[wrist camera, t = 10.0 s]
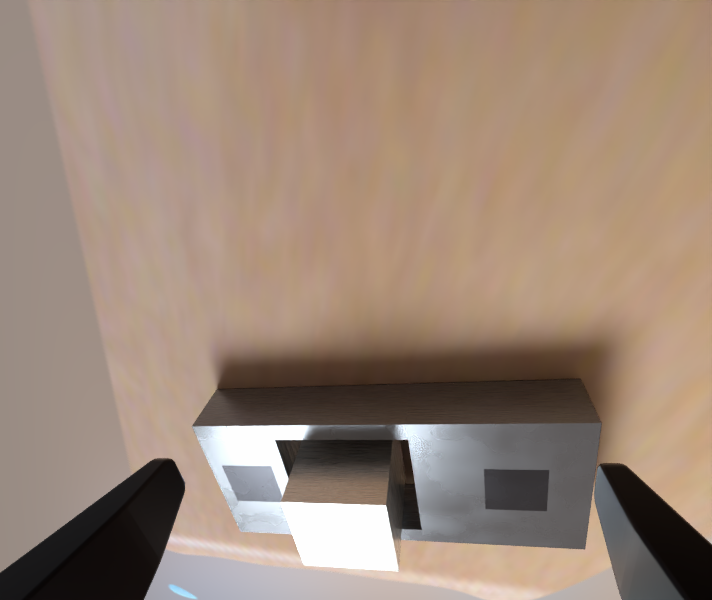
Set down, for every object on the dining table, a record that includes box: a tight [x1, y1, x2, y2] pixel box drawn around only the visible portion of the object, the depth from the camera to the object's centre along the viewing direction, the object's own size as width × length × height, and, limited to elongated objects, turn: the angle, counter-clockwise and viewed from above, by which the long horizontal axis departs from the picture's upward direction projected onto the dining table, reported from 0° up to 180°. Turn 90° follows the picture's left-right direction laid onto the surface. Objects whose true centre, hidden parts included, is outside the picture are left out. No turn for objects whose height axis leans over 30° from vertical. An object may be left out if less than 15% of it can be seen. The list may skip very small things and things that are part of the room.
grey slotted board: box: [192, 379, 602, 549], centre depth 24 cm, size 20×9×3 cm, turn 100°
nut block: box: [281, 440, 405, 571], centre depth 23 cm, size 5×5×6 cm
